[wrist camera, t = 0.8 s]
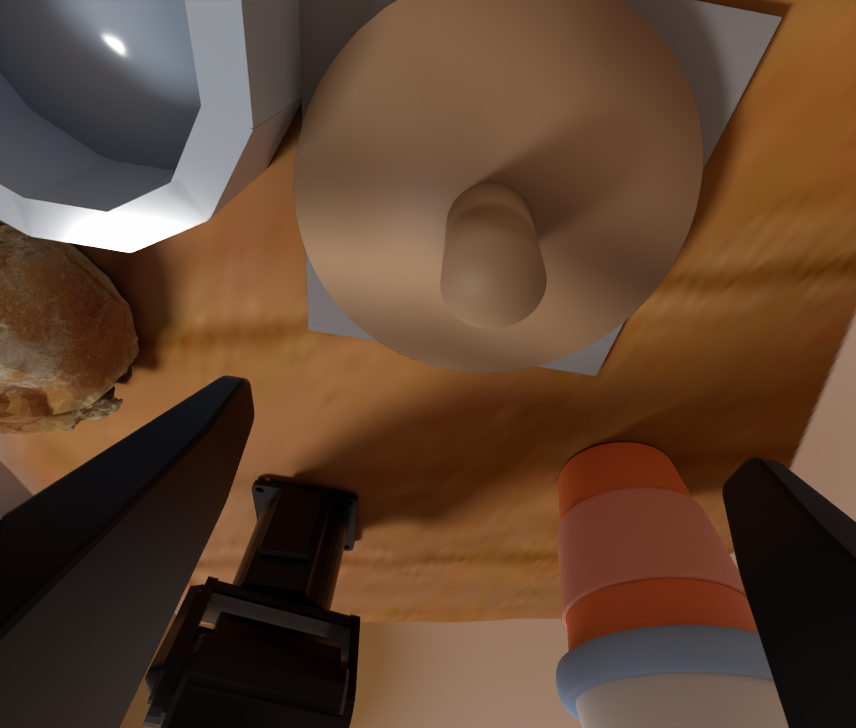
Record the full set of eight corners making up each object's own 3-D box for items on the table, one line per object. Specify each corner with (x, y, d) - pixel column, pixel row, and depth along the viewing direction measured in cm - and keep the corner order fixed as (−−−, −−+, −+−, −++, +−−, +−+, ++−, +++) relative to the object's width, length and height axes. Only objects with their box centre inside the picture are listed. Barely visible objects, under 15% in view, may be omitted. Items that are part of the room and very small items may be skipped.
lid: (595, 375, 20) (626, 470, 16) (308, 329, 20) (267, 415, 16) (781, 17, 12) (934, 32, 8) (296, -77, 12) (205, -112, 8)
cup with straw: (536, 524, 29) (595, 1007, 15) (525, 428, 24) (603, 1054, 10) (689, 516, 27) (911, 1053, 14) (717, 412, 22) (1141, 1142, 8)
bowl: (308, 217, 17) (266, 275, 14) (9, 166, 17) (-112, 212, 13) (295, -264, 10) (204, -395, 7) (-225, -373, 10) (-616, -575, 6)
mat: (594, 370, 21) (595, 376, 20) (310, 324, 20) (308, 329, 20) (774, 16, 12) (782, 16, 12) (300, -76, 12) (296, -78, 12)
